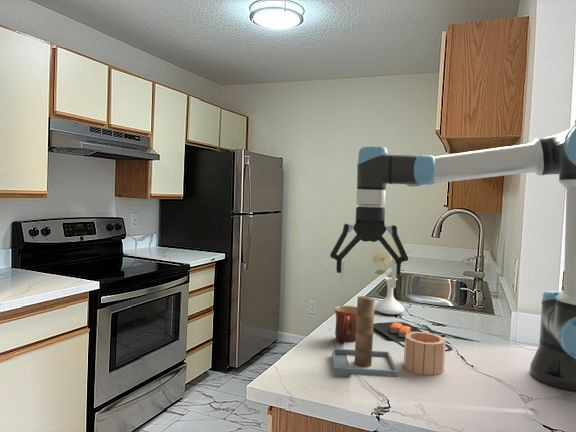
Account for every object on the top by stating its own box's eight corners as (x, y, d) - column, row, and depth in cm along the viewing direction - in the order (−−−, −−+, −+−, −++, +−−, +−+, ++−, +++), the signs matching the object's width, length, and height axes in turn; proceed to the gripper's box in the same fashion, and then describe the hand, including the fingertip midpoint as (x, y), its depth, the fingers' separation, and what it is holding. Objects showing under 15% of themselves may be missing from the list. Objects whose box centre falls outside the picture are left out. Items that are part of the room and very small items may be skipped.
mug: (334, 335, 144) (335, 304, 144) (361, 338, 143) (362, 307, 142) (330, 348, 133) (331, 314, 132) (359, 351, 131) (361, 317, 130)
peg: (370, 361, 121) (373, 296, 120) (372, 368, 116) (375, 300, 115) (353, 360, 121) (356, 295, 120) (355, 367, 116) (358, 299, 115)
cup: (437, 364, 122) (438, 332, 122) (448, 379, 112) (450, 345, 112) (400, 362, 123) (402, 330, 122) (408, 377, 113) (410, 343, 112)
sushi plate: (367, 328, 155) (368, 318, 155) (440, 324, 164) (441, 314, 164) (414, 359, 128) (415, 346, 127) (498, 352, 136) (499, 340, 136)
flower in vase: (403, 310, 180) (406, 249, 178) (404, 318, 168) (407, 253, 167) (371, 307, 183) (373, 247, 181) (369, 314, 171) (372, 250, 170)
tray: (388, 359, 125) (388, 351, 125) (397, 380, 111) (398, 371, 111) (331, 356, 126) (332, 348, 126) (334, 376, 112) (334, 367, 112)
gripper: (415, 207, 119) (411, 285, 120) (322, 204, 121) (320, 281, 122) (422, 208, 112) (418, 291, 113) (323, 205, 113) (320, 287, 114)
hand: (367, 286), depth 117 cm, fingers open, 13 cm apart
